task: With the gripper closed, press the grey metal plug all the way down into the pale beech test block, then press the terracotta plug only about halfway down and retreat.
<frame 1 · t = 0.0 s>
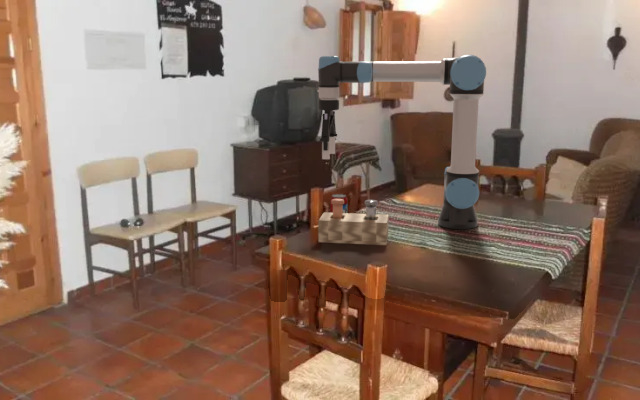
hand: (328, 156, 227), 28 cm above the table, fingers open, 13 cm apart
grey plug: (370, 212, 216), point 10 cm above the table, slide at 0.0 cm
beverage can: (338, 225, 238), on the table
terracotta plug: (337, 211, 218), point 10 cm above the table, slide at 0.0 cm
test block: (353, 238, 219), on the table
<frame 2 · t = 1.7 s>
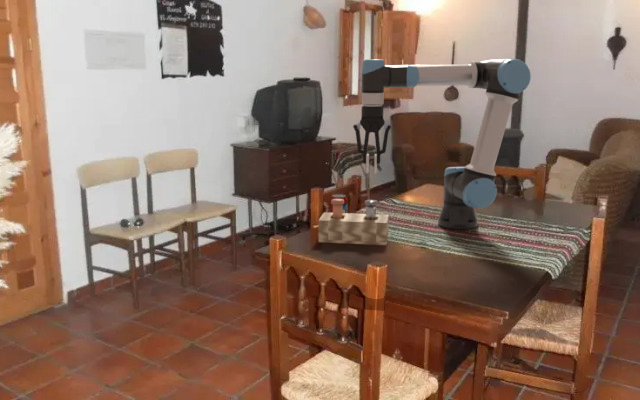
hand: (371, 172, 213), 24 cm above the table, fingers open, 2 cm apart
nothing on the table moved.
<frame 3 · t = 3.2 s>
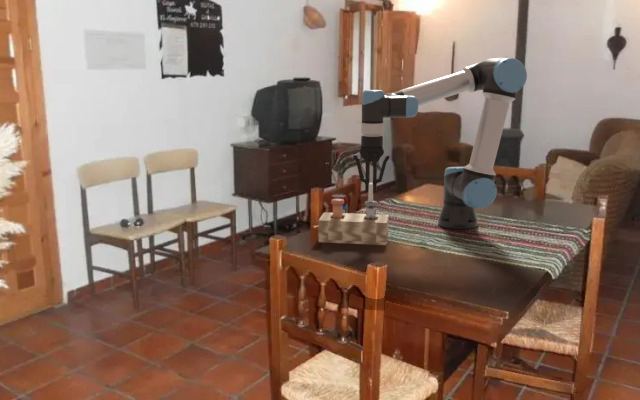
hand: (370, 201, 215), 14 cm above the table, fingers closed
grey plug: (370, 213, 216), point 10 cm above the table, slide at 0.3 cm, touching gripper
everything else where it was.
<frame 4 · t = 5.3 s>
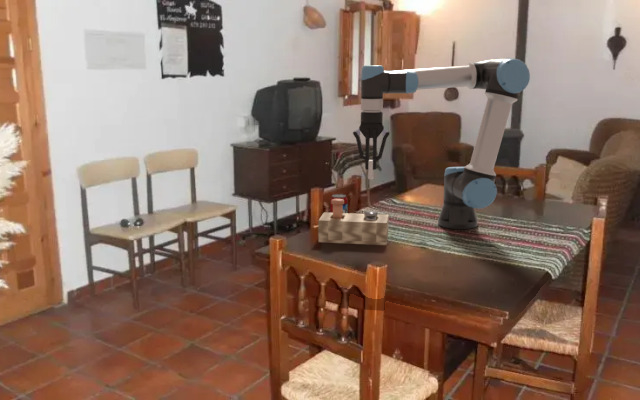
hand: (370, 178, 213), 22 cm above the table, fingers closed
grey plug: (370, 223, 217), point 6 cm above the table, slide at 4.1 cm
everything else where it was.
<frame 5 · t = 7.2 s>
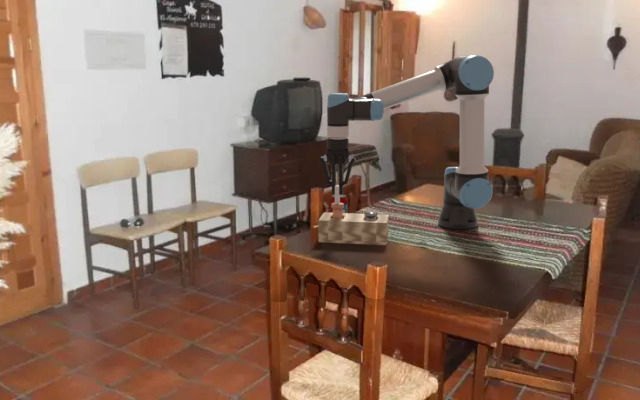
hand: (337, 203, 217), 13 cm above the table, fingers closed
terracotta plug: (337, 215, 218), point 9 cm above the table, slide at 1.4 cm, touching gripper
everything else where it was.
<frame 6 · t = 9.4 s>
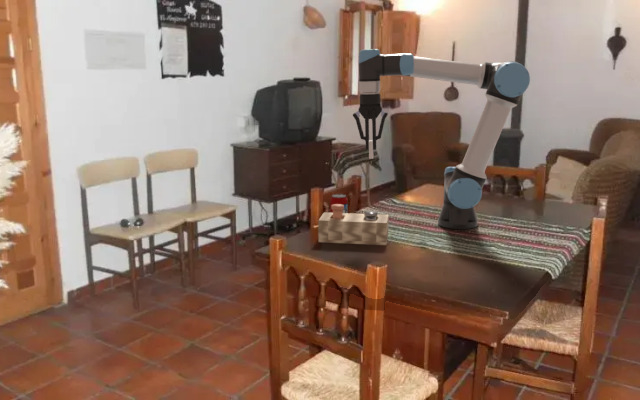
hand: (371, 158, 223), 28 cm above the table, fingers closed
terracotta plug: (337, 216, 218), point 8 cm above the table, slide at 2.0 cm
everything else where it was.
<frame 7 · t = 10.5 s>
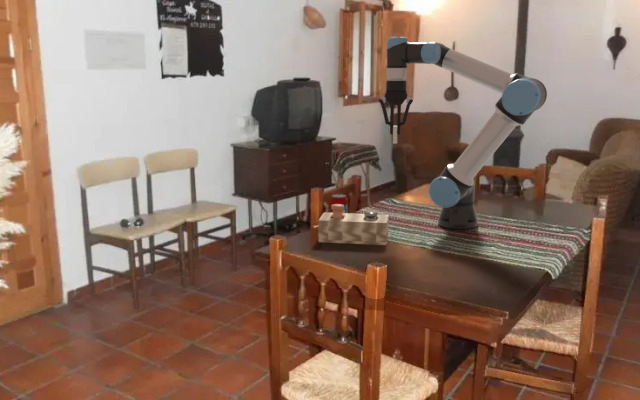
hand: (394, 143, 230), 32 cm above the table, fingers closed
nothing on the table moved.
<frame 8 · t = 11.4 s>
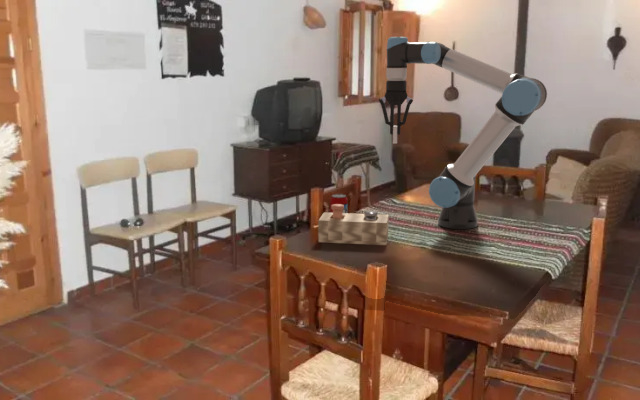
hand: (394, 143, 230), 32 cm above the table, fingers closed
nothing on the table moved.
at the end: grey plug slide at 4.1 cm; terracotta plug slide at 2.0 cm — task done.
